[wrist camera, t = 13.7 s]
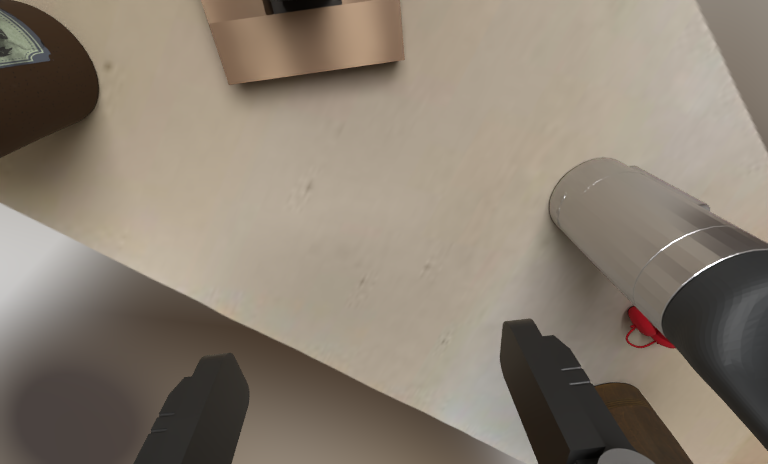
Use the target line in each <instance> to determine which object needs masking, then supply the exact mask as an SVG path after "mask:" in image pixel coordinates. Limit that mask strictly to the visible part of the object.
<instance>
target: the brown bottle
mask: <svg viewBox="0 0 768 464" xmlns="http://www.w3.org/2000/svg"><path fill="white" fill-rule="evenodd" d="M97 97H98V81H97V76H96V72H95V69H94V66H93V64H92V62H91V60H90V58H89V56H88V54H87V53H86V51H85V49H84V48H83V47H82V45H81V44H80V43H79V41H78V40H77V39H76V38H75V37H74V36H73V34H72V33H71V32H70V31H69V30H68V29H66V28H65V27H64V26H63V25H62V24H61V23H59V22H58V21H57V20H56V19H54V18H53V17H51V16H50V15H48V14H46V13H45V12H43V11H41V10H39V9H37V8H35V7H33V6H30V5H28V4H25V3H21V2H18V1H13V0H0V158H1V157H3V156H5V155H7V154H9V153H11V152H13V151H15V150H17V149H20V148H22V147H24V146H26V145H28V144H30V143H32V142H34V141H36V140H38V139H40V138H43V137H45V136H47V135H49V134H52V133H54V132H56V131H58V130H61V129H63V128H65V127H67V126H69V125H72V124H74V123H76V122H78V121H80V120H82V119H83V118H85V117H86V116H87V115H88V114H89V113H90V112H91V111H92V109H93V108H94V106H95V104H96V101H97Z"/></svg>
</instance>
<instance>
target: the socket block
mask: <svg viewBox="0 0 768 464" xmlns="http://www.w3.org/2000/svg"><path fill="white" fill-rule="evenodd" d="M201 2H202V5H203V8H204V11H205V14H206V17H207V20H208V23H209V26H210V29H211V32H212V35H213V38H214V41H215V44H216V47H217V50H218V53H219V56H220V59H221V62H222V65H223V68H224V71H225V74H226V77H227V80H228V83H229V85H232V84H239V83H246V82H253V81H260V80H267V79H274V78H281V77H288V76H295V75H302V74H309V73H316V72H323V71H330V70H337V69H344V68H351V67H358V66H365V65H372V64H379V63H386V62H393V61H400V60H405V59H404V46H403V34H402V22H401V9H400V0H289V1H276V0H201Z"/></svg>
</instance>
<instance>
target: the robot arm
mask: <svg viewBox="0 0 768 464" xmlns="http://www.w3.org/2000/svg"><path fill="white" fill-rule="evenodd" d="M549 211H550V215H551V218H552V220H553V221H554V223H555V224H556V225H557V226H558V227H559V228H560V229H561V230H562V231H563V232H564V233H565V234H566V235H567V236H568V237H569V238H570V239H571V241H572V242H573V243H574V244H575V245H576V246H577V247H578V248H579V249H580V250H581V251H582V252H583V253H584V254H585V255H586V256H587V257H588V258H589V259H590V260H591V261H592V262H593V263H594V264H595V265H596V267H597V268H598V269H599V270H600V271H601V272H602V273H603V274H604V275H605V276H606V277H607V278H608V279H609V280H610V281H611V282H612V283H613V284H614V285H615V286H616V287H617V288H618V289H619V290H620V291H621V292H622V293H623V294H624V295H625V296H626V297H627V298H628V300H629V301H630V302H631V303H632V304H633V305H634V306H635V307H636V308H637V309H638V310H639V311H640V312H641V313H642V314H643V315H644V316H645V317H646V318H647V319H648V320H649V321H650V322H651V323H652V324H653V325H654V326H655V327H656V328H657V329H658V330H659V331H660V332H661V333H662V334H663V335H664V336H665V337H666V338H667V339H668V340H669V341H670V342H671V343H672V344H673V345H674V346H675V347H676V349H677V350H678V351H679V352H680V353H681V354H682V355H683V356H684V358H685V359H686V360H687V361H688V363H689V364H690V365H691V366H692V367H693V369H694V370H695V371H696V372H697V373H698V374H699V375H700V376H701V378H702V379H703V380H704V381H705V382H706V383H707V384H708V385H709V386H710V387H711V388H712V389H713V390H714V391H715V392H716V393H717V394H718V396H719V397H720V398H721V399H722V400H723V401H724V402H725V403H726V404H727V405H728V406H729V408H730V409H731V410H732V411H733V412H734V413H735V414H736V415H737V416H738V418H739V419H740V420H741V421H742V422H743V423H744V424H745V425H746V426H747V428H748V429H749V430H750V431H751V432H752V433H753V434H754V436H755V437H756V438H757V439H758V440H759V441H760V442H761V444H762V445H763V446H764V447H765V448H766V449H767V451H768V243H766V242H765V241H763V240H761V239H759V238H757V237H755V236H754V235H752V234H750V233H748V232H746V231H744V230H742V229H741V228H739V227H737V226H735V225H733V224H732V223H730V222H728V221H726V220H724V219H722V218H721V217H719V216H717V215H715V214H713V213H712V212H710V207H709V206H708V205H707V204H706V203H704V202H702V201H700V200H698V199H697V198H695V197H693V196H691V195H689V194H687V193H685V192H683V191H682V190H680V189H678V188H676V187H674V186H672V185H670V184H669V183H667V182H665V181H663V180H661V179H659V178H657V177H655V176H654V175H652V174H650V173H648V172H646V171H644V170H642V169H641V168H639V167H637V166H631V167H629V166H627V165H625V164H623V163H621V162H620V161H617V160H614V159H610V158H599V159H593V160H590V161H587V162H584V163H582V164H580V165H579V166H577V167H575V168H574V169H572V170H571V171H570V172H568V173H567V174H566V175H565V176H564V177H563V178H562V179H561V180H560V182H559V183H558V185H557V186H556V187H555V189H554V191H553V194H552V196H551V200H550V208H549ZM500 363H501V369H502V373H503V376H504V379H505V381H506V384H507V386H508V389H509V391H510V394H511V396H512V399H513V401H514V404H515V406H516V409H517V411H518V414H519V416H520V419H521V421H522V424H523V426H524V429H525V431H526V434H527V436H528V439H529V441H530V444H531V446H532V449H533V451H534V454H535V456H536V459H537V461H538V464H655V463H654V462H653V461H651V460H650V459H648V458H647V457H645V456H643V455H641V454H640V453H639V452H637V451H636V449H635V448H634V447H633V446H632V445H631V443H630V442H629V441H628V439H627V438H626V436H625V435H624V433H623V431H622V430H621V428H620V427H619V425H618V424H617V422H616V420H615V419H614V417H613V416H612V414H611V413H610V411H609V409H608V408H607V406H606V405H605V403H604V402H603V400H602V398H601V397H600V395H599V394H598V392H597V391H596V389H595V387H594V386H593V384H591V383H590V380H589V378H588V376H587V375H586V373H585V372H584V370H583V369H581V365H580V364H579V362H578V361H577V359H576V358H575V356H574V354H573V353H572V351H571V350H570V348H568V347H567V346H566V345H565V344H563V343H562V342H561V341H560V340H559V339H557V338H556V337H555V336H554V335H551V336H542V335H541V333H540V331H539V330H538V328H537V326H536V324H535V323H534V321H533V320H532V319H522V320H514V321H505V322H504V323H503V329H502V339H501V350H500ZM248 404H249V387H248V384H247V382H246V379H245V377H244V375H243V374H242V371H241V369H240V367H239V365H238V363H237V361H236V359H235V357H234V355H233V354H232V353H225V354H216V355H207V356H204V357H202V358H201V360H200V361H199V363H198V365H197V367H196V369H195V371H194V373H193V375H192V377H184V379H183V380H182V381H181V382H180V383H179V384H178V385H177V386H176V387H175V388H174V390H173V391H172V392H171V393H170V394H169V396H168V398H167V400H166V401H165V403H164V406H163V407H162V409H161V411H160V413H159V418H157V419H156V421H155V423H154V425H153V427H152V429H151V434H149V435H148V437H147V439H146V440H145V442H144V444H143V447H142V449H141V450H140V452H139V454H138V456H137V458H136V460H135V462H134V464H231V463H232V460H233V456H234V453H235V449H236V446H237V442H238V439H239V436H240V432H241V429H242V425H243V422H244V418H245V415H246V411H247V408H248Z"/></svg>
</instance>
